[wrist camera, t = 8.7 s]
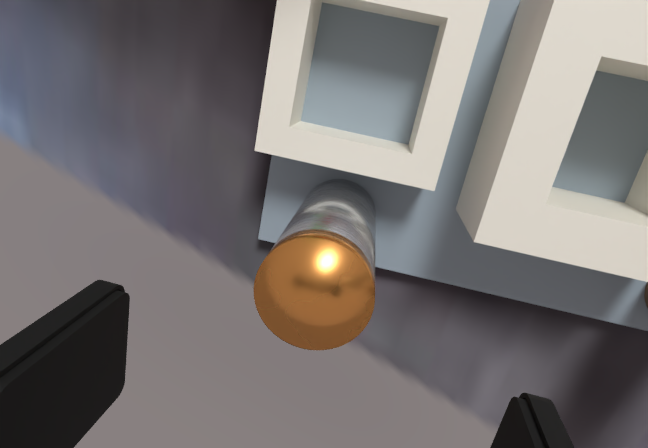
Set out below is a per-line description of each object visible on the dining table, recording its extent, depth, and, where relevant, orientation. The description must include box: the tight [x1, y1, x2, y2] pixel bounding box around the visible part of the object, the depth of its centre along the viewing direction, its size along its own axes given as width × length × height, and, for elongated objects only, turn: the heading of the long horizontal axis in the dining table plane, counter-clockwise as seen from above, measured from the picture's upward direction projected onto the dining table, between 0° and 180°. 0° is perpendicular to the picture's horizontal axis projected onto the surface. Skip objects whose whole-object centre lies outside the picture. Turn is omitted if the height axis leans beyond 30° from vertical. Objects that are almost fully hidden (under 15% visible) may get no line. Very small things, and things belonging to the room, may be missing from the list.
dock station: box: [255, 0, 648, 331], centre depth 20 cm, size 25×15×6 cm, turn 78°
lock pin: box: [254, 179, 376, 350], centre depth 20 cm, size 4×4×10 cm
